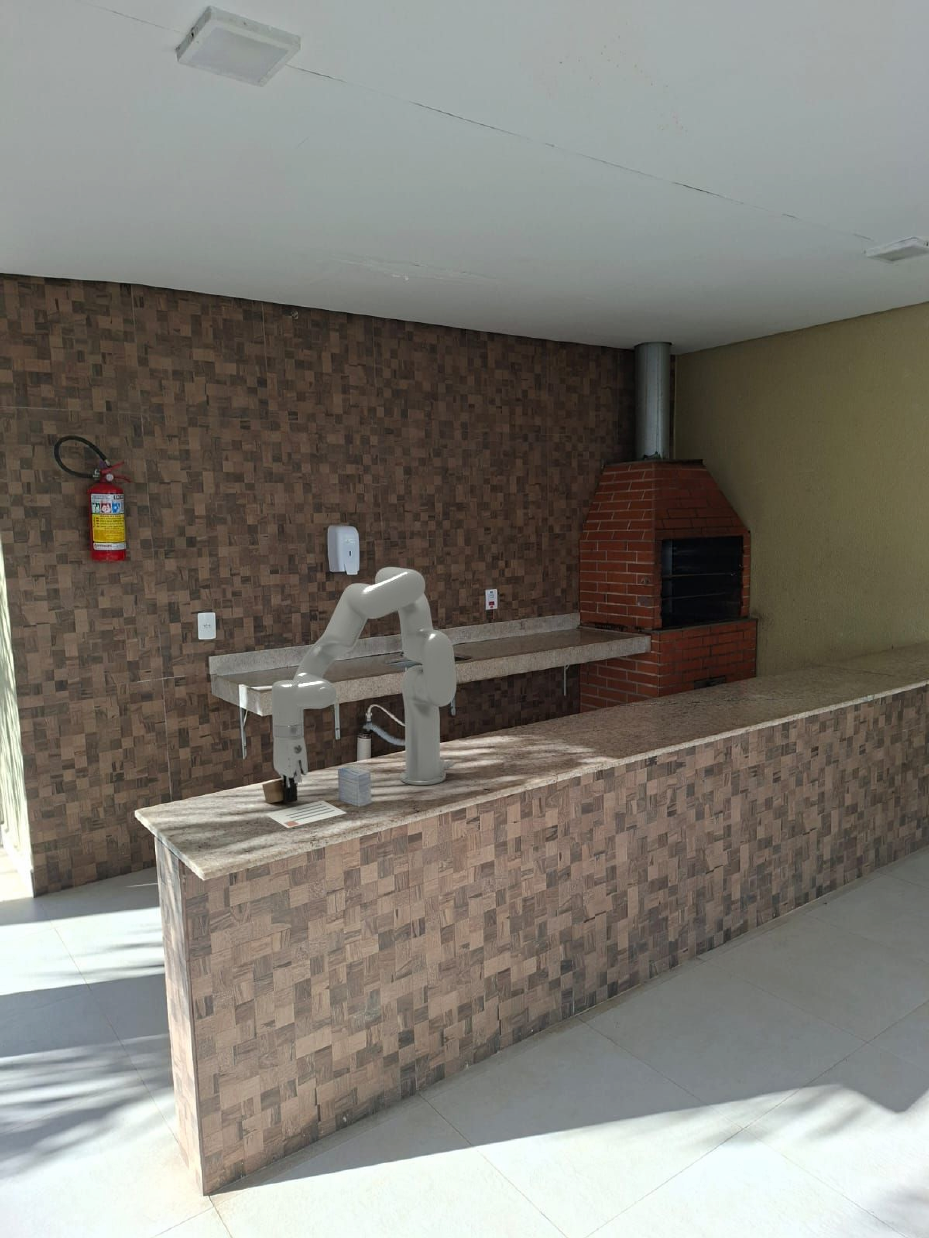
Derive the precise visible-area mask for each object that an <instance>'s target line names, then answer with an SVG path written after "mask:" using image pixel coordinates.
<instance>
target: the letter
mask: <svg viewBox="0 0 929 1238" xmlns="http://www.w3.org/2000/svg"><path fill="white" fill-rule="evenodd" d="M345 814H347V812H346V811H344V810H342V809H340V808H338V807H336V806H334V805H332V804H330V803H328V802H327V801H325V800H323V799H322V800H318V801H314V802H310V803H305V804H300V805H297V806H293V807H289V808H288V807H287V808H285V809H279V810H276V811H272V812H268V813H264V815H265V816H267V817H268V818H270V819H272V820H273V821H275V822H276V823H279V824H280V825H282V826H284V827H285V828H287V829H291V828H294V827H297V826H298V827H299V826H302V825H305V824H309V823H310V824H311V823H313V822H317V821H321V820H325V819H329V818H333V817H337V816H341V815H345Z"/></svg>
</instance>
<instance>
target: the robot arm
mask: <svg viewBox="0 0 929 1238" xmlns="http://www.w3.org/2000/svg"><path fill="white" fill-rule="evenodd" d="M425 588H426V581H425V578H424V576H423V575H422V574H421V573H420V572H418V571H417V570H415V569H411V568H410V569H409V568H405V567H404V568H403V567H397V566H387V567H383V568H381V569H379V570H378V571H377V573H376V574H375V578H374V584H368V583H360V582H359V583H352V584H350V585H347V587H345V589H344V590H343V593H342V594H341V596H340V599H339V601H338V602H337V604H336V607H335V609H334V611H333V613H332V616H331V618H330V620H329V622H328V623H327V627H326V628H325V631H324V632H323V634H322V635H321V637H319V638H318V639H317V640H316V641H315V643H314V644H312V646H311V647H310V648H309V650H307V652H306V654H305V655H303V658H302V660H301V661H300V663H299V666H298V667H297V670H296V672H295V674H294V677H293V679H284V680H283V679H282V680H278V681H275V682H274V683H273V684H272V686H271V711H272V712H271V713H272V714H271V716H272V737H273V750H272V751H273V752H272V753H273V754H272V756H273V757H272V759H273V769H274V770H275V771H276V772H277V773H278V775H279V776H280V779H281V782H282V785H283V800H282V801H283V802H284V803H286V804H289V803H293V802H297V801H298V785H299V783H302V782H303V779H302V775H303V776H307V775H308V770H309V769H308V757H307V756H308V755H307V748H306V747H307V746H306V741H305V737H304V735H305V733H304V729H305V728H304V709H305V710H306V709H310V710H311V709H313V710H314V709H315V710H317V709H318V710H320V709H321V710H322V709H325V708H327V707H330V706H331V705H332V704H333V703H334V702H335V700H336V698H337V691H336V687H335V685H334V683H332V682H331V681H329V680H327V679H325V678H323V677H324V675H325V673H326V672H327V669H328V668H329V667H330V666H331V664H332V663H333V662H334V661H335V660H336V659H337V658H339V657H341V656H342V655H345V654H347V653H349V652H351V651H352V650H353V649H354V648H355V647H356V646H357V645H356V644H357V642H358V641H359V638H360V636H361V634H362V631H363V629H364V627H365V625H366V623H367V621H368V619H372V620H374V619H380V618H383V617H385V616H387V615H390V614H392V613H394V612H396V611H397V612H398V617H399V622H400V623H399V625H400V633H401V645H402V650H403V651H402V652H403V655H404V656H405V657H406V658H407V659H408V660H410V661H412V662H414V663H418V664H422V665H413V666H410V667H409V668H408V669H407V670H406V671H405V672H404V674H403V675H402V678H401V687H400V688H401V693H402V698H403V706H404V727H405V728H404V730H405V732H404V736H405V737H404V739H405V741H404V743H405V744H404V745H405V770H404V771H402V772H401V773H400V775H399V779H400V781H402V782H403V783H405V784H407V785H409V784H410V785H412V786H429V785H430V786H431V785H436V784H439V783H442V782H443V781H445V780H446V778H447V777H446V772H444V771H445V770H446V769H448V768H449V769H450V768H453V767H454V766H455V762H454V760H452V759H450V760H446V761H445V759H441V744H440V743H441V739H440V738H441V737H440V736H441V734H440V733H441V731H440V730H441V729H440V728H441V727H440V723H441V722H440V721H441V720H440V719H441V717H440V709H439V707H440V708H441V707H445V706H447V705H449V704H450V703H451V702H452V701H453V699H454V697H455V695H456V692H457V675H456V674H457V673H456V663H455V662H456V661H455V653H454V652H455V651H454V647H453V643H452V642H451V640H450V638H449V637H448V636H447V634H445V633H444V632H442V631H440V630H436V629H434V626H433V621H432V614H431V608H430V603H429V601H428V598H427V596H426V594H425V590H426V589H425Z"/></svg>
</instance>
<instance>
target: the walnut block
mask: <svg viewBox="0 0 929 1238" xmlns="http://www.w3.org/2000/svg"><path fill="white" fill-rule="evenodd" d="M261 786H262V790H263V791H262V792H263V795H264V798H265V803H267V804H273V803H276V802H282V801H283V785H282V782H281V778H279V779H277V780H274V781H273V780H272V781H269V782H266V783H263V784H261Z"/></svg>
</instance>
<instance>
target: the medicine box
mask: <svg viewBox="0 0 929 1238" xmlns="http://www.w3.org/2000/svg"><path fill="white" fill-rule="evenodd" d="M337 779H338V781H337V782H338V783H337V784H338V786H337V787H338V788H337V789H338V801H339V802H343V803H346V804H349V805H350V806H355V807H357V808H360V807H363V806H366V805H369V804H372V782H371V780H372V778H371V771H370V770H367V769H364V768H360V767H357V766H353V765H348V766H344V767H340V768H339V769H337Z"/></svg>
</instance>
